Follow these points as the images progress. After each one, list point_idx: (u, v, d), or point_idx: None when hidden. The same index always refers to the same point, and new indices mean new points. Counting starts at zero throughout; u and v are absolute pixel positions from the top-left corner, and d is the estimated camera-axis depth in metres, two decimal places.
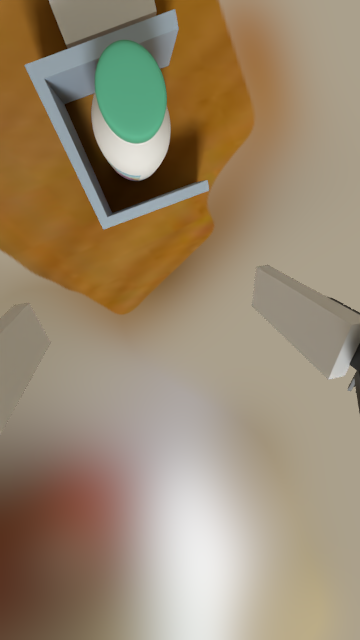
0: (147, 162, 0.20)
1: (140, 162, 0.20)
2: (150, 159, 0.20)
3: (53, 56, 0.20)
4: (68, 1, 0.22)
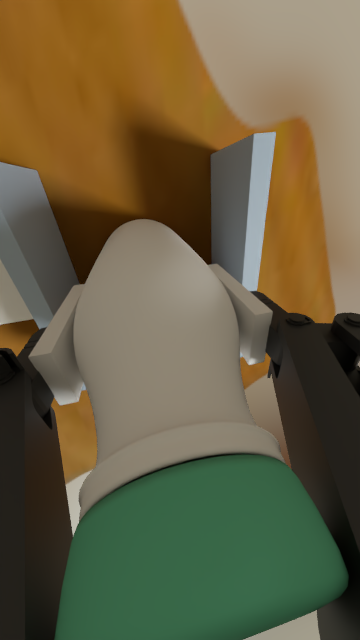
0: None
1: None
2: (239, 342, 0.08)
3: None
4: (3, 304, 0.18)
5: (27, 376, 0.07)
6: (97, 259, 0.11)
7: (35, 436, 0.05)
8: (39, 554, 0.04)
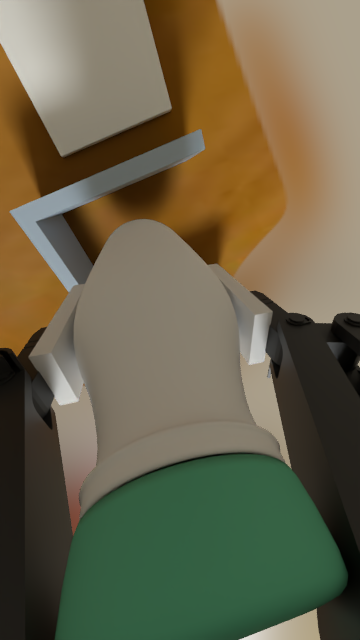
0: (239, 345, 0.08)
1: None
2: (239, 342, 0.08)
3: (45, 198, 0.15)
4: (62, 110, 0.18)
5: (27, 376, 0.07)
6: (97, 259, 0.11)
7: (35, 436, 0.05)
8: (39, 554, 0.04)
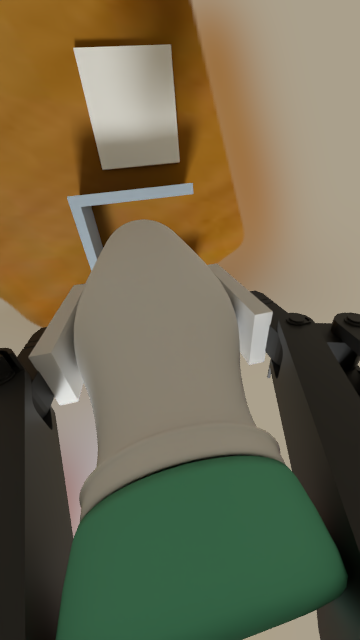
0: (239, 346, 0.08)
1: None
2: (239, 343, 0.08)
3: (92, 195, 0.25)
4: (111, 144, 0.28)
5: (27, 376, 0.07)
6: (97, 260, 0.11)
7: (35, 436, 0.05)
8: (39, 554, 0.04)
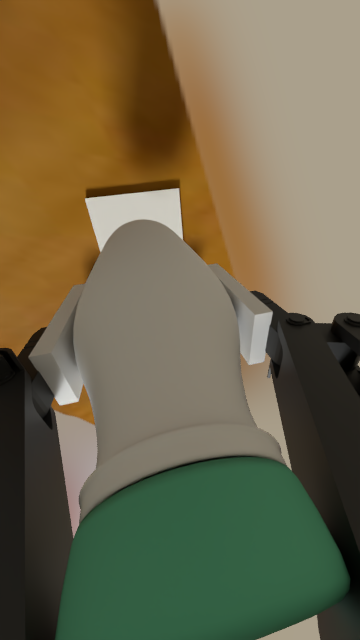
0: None
1: None
2: (239, 343, 0.08)
3: None
4: None
5: (27, 376, 0.07)
6: (97, 259, 0.11)
7: (35, 436, 0.05)
8: (39, 554, 0.04)
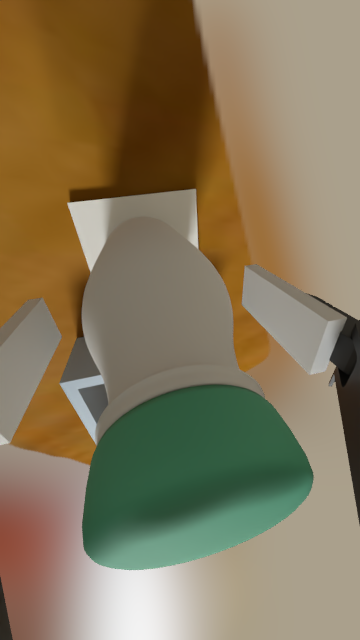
0: None
1: None
2: (232, 320, 0.09)
3: (92, 377, 0.19)
4: None
5: None
6: (101, 251, 0.12)
7: None
8: None
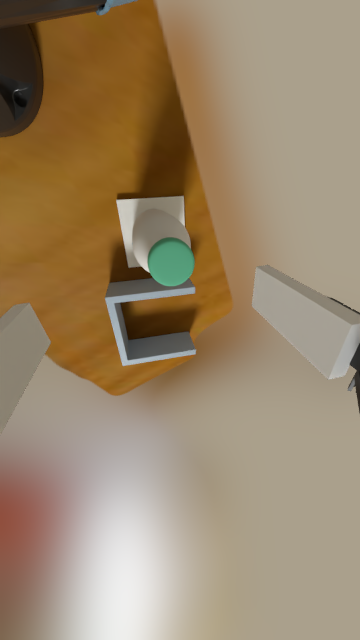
0: (189, 247, 0.25)
1: None
2: (188, 244, 0.25)
3: (122, 296, 0.35)
4: None
5: None
6: (138, 221, 0.28)
7: None
8: None
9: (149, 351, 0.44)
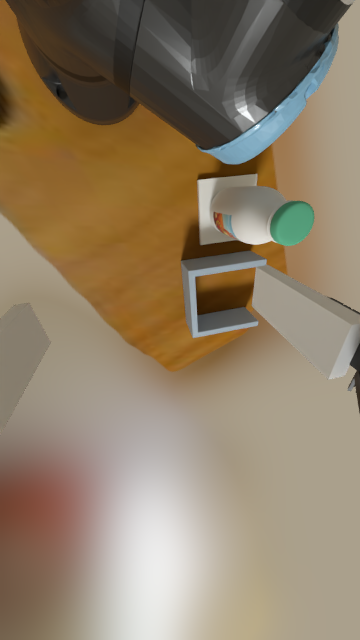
0: None
1: None
2: None
3: (203, 269, 0.38)
4: (209, 230, 0.41)
5: None
6: (231, 196, 0.31)
7: None
8: None
9: (215, 324, 0.48)
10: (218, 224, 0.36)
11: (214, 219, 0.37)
